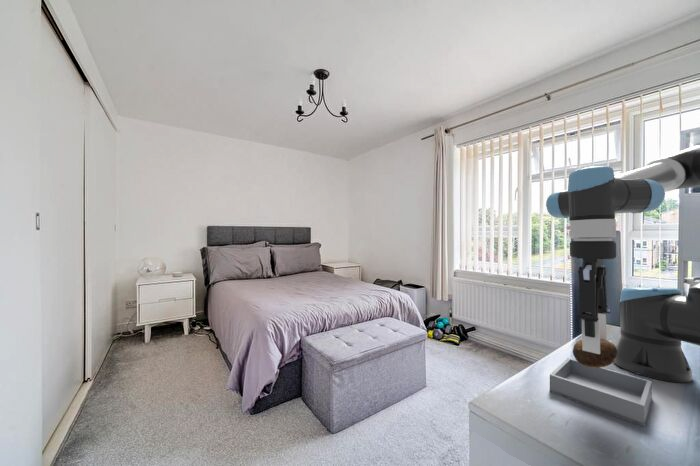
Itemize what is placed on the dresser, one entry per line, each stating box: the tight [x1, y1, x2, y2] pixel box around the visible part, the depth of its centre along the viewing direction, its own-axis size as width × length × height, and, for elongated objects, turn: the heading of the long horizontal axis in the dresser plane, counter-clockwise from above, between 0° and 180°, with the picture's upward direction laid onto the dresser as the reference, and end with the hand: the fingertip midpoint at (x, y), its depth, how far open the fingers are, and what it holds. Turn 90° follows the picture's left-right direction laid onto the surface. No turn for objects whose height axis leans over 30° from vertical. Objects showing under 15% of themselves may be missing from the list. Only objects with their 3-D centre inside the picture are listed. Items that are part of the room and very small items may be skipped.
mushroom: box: [572, 338, 617, 368], centre depth 59 cm, size 8×8×6 cm
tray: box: [549, 357, 653, 427], centre depth 64 cm, size 15×15×4 cm
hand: (594, 346), depth 59 cm, fingers closed on mushroom, 7 cm apart
